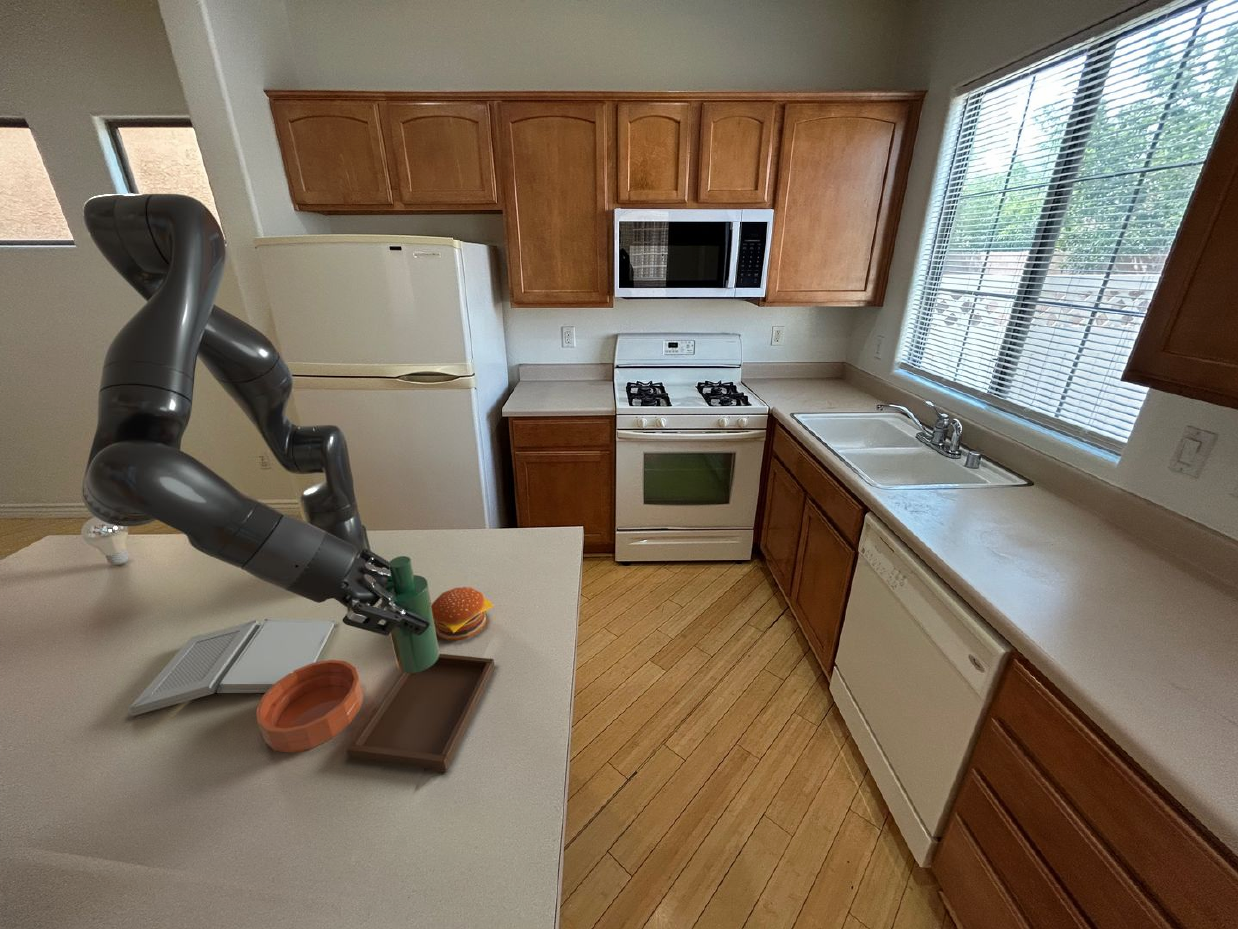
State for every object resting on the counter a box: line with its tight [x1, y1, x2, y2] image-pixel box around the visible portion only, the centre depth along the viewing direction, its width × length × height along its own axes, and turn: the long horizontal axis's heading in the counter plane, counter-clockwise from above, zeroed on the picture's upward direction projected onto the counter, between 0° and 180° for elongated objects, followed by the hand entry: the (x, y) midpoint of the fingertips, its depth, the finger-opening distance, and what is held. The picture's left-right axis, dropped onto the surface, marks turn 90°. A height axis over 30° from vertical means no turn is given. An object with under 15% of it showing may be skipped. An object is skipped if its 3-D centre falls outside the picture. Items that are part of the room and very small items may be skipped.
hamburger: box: [431, 586, 495, 641], centre depth 86 cm, size 9×10×7 cm
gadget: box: [128, 618, 335, 717], centre depth 77 cm, size 23×15×4 cm, turn 102°
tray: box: [346, 653, 496, 773], centre depth 70 cm, size 18×14×2 cm
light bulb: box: [80, 516, 130, 566], centre depth 102 cm, size 7×7×12 cm
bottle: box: [384, 555, 440, 673], centre depth 64 cm, size 6×6×16 cm
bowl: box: [255, 659, 365, 754], centre depth 69 cm, size 12×12×4 cm
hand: (424, 613), depth 65 cm, fingers closed on bottle, 5 cm apart
